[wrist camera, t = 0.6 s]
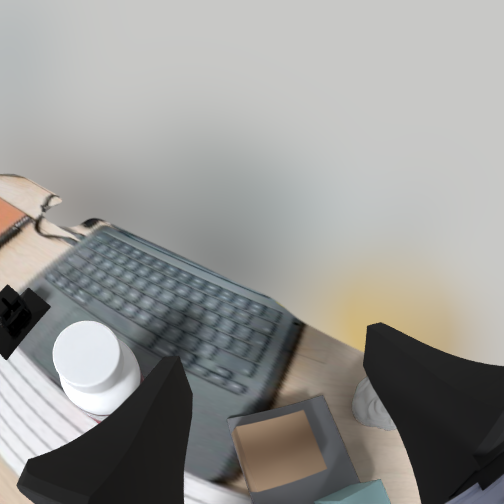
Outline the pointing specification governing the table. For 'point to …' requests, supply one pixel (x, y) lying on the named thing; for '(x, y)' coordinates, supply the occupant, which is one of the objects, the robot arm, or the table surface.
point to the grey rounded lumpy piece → (370, 407)
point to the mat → (331, 447)
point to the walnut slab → (277, 451)
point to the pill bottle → (95, 368)
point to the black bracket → (18, 317)
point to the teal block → (358, 494)
